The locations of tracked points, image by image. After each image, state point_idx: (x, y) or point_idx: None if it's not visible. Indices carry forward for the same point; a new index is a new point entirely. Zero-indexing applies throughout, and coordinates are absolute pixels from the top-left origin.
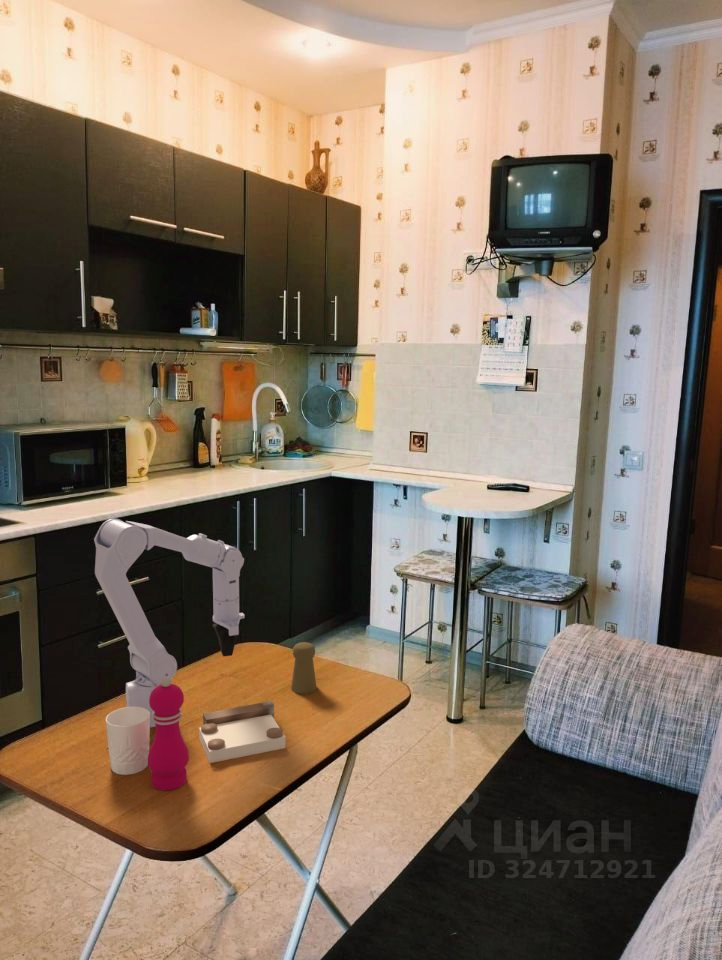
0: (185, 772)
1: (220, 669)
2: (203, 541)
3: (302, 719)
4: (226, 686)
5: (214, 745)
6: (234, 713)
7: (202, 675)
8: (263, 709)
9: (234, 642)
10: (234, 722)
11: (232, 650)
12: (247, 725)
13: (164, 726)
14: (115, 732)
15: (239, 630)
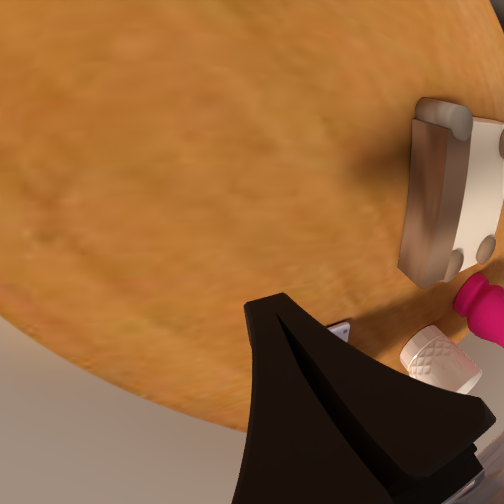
0: (487, 280)
1: (7, 245)
2: None
3: (434, 30)
4: (147, 216)
5: (490, 253)
6: (455, 219)
7: (57, 298)
8: (470, 143)
9: (354, 350)
10: None
11: (303, 313)
12: (473, 187)
13: None
14: (461, 387)
15: (484, 404)
